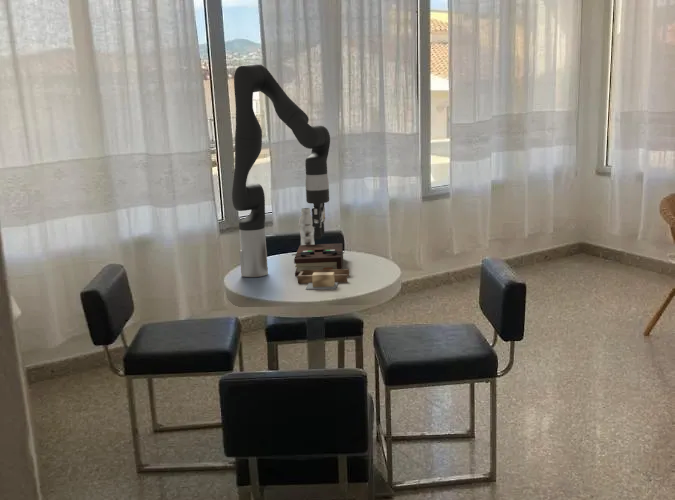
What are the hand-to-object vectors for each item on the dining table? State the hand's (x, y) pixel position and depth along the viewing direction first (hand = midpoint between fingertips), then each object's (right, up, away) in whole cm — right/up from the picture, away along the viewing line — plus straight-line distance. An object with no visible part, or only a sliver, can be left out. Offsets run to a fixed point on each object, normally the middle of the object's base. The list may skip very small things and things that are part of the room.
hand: (319, 236), depth 236 cm
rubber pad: (+1, -17, +3) cm, 17 cm away
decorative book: (-1, -12, +32) cm, 34 cm away
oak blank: (+1, -16, +3) cm, 17 cm away
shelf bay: (+1, -15, +12) cm, 19 cm away
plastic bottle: (-6, -8, +48) cm, 49 cm away
